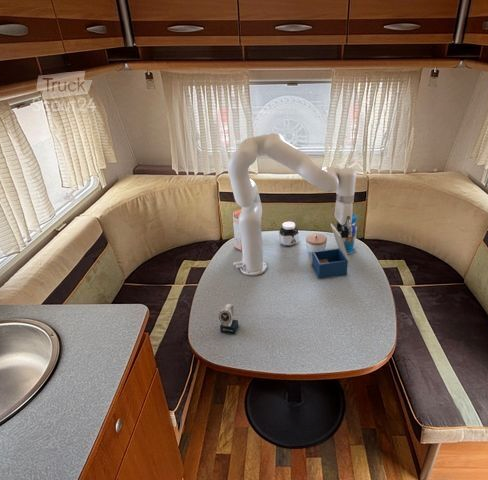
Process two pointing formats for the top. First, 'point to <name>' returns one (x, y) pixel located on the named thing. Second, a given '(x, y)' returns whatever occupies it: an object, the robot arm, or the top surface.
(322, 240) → the trinket box
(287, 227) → the spread jar
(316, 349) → the top surface
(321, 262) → the block
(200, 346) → the top surface
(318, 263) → the case
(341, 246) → the lid
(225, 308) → the watch
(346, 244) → the beverage bottle
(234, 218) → the cracker box
